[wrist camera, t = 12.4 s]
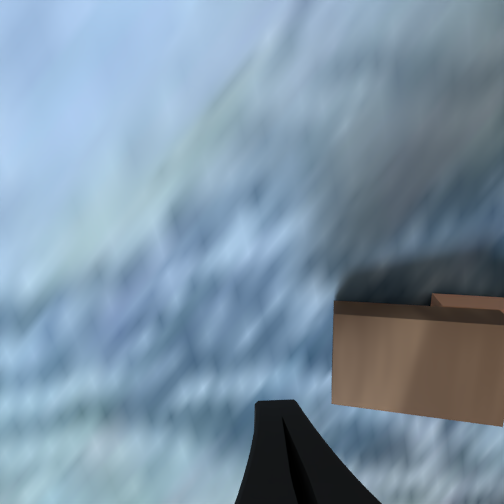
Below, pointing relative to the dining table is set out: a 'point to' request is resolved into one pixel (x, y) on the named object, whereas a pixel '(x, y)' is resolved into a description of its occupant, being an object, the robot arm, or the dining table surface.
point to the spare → (467, 301)
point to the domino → (419, 360)
